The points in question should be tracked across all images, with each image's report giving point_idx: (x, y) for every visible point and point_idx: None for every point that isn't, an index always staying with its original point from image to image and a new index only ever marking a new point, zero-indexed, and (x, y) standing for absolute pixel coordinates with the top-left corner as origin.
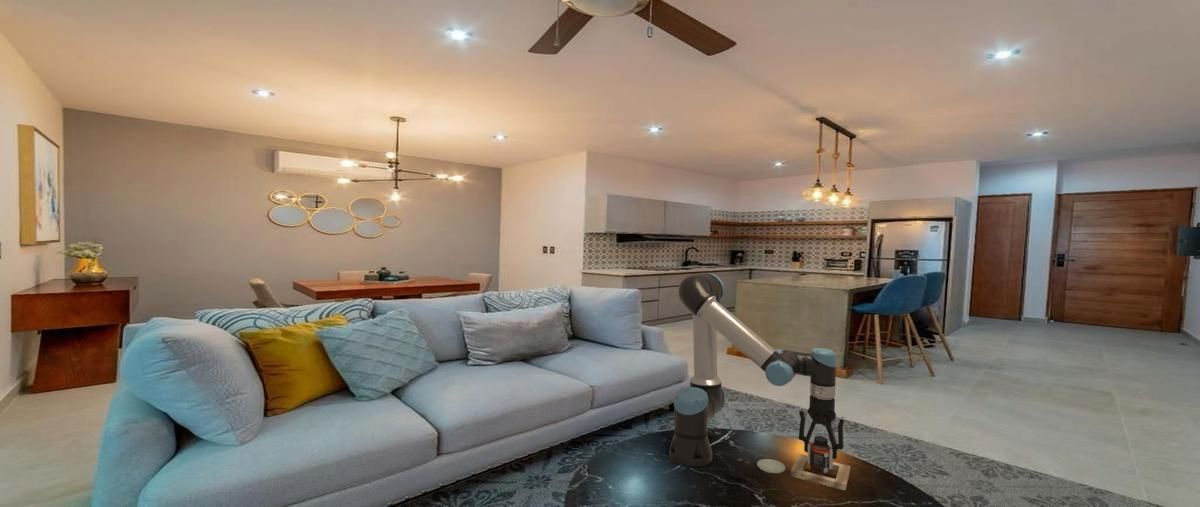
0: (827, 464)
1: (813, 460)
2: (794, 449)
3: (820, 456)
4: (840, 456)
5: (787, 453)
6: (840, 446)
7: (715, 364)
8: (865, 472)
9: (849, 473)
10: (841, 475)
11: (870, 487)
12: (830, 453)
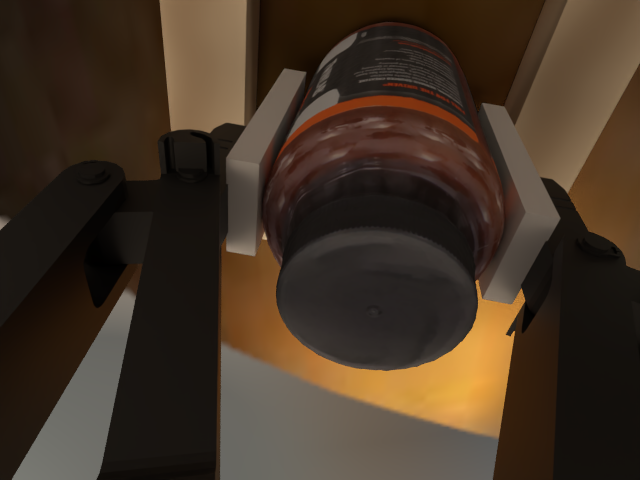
0: (316, 80)
1: (459, 85)
2: (510, 356)
3: (388, 78)
4: (263, 345)
5: None
6: (86, 186)
7: None
8: None
9: None
10: (209, 39)
11: (32, 23)
12: (262, 136)
